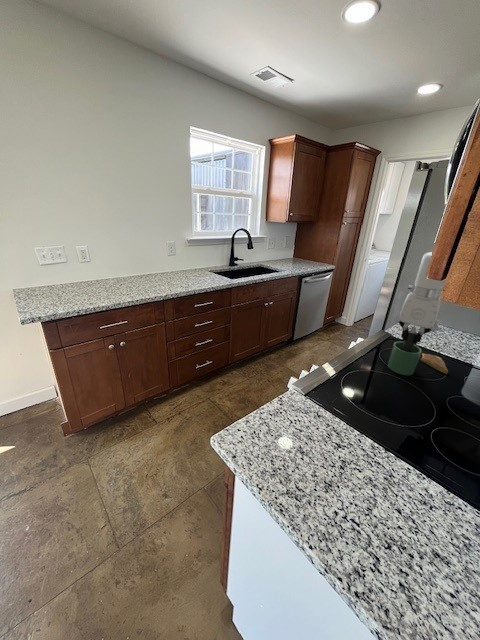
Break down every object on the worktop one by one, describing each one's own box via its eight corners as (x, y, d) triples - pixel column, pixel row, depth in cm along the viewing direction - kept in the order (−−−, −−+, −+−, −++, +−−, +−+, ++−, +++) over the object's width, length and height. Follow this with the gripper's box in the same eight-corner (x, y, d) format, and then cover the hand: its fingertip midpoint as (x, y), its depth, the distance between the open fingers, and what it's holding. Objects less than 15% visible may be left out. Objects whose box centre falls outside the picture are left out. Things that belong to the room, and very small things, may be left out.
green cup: (419, 372, 96) (427, 351, 92) (401, 377, 93) (409, 355, 89) (399, 360, 103) (405, 340, 99) (382, 364, 100) (388, 343, 97)
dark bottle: (412, 356, 95) (421, 328, 90) (405, 357, 94) (415, 329, 89) (404, 352, 97) (413, 325, 93) (398, 353, 96) (407, 326, 92)
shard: (447, 375, 95) (449, 371, 94) (422, 369, 97) (424, 365, 97) (440, 360, 104) (442, 356, 103) (418, 356, 107) (419, 352, 106)
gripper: (395, 288, 88) (381, 337, 95) (456, 300, 78) (436, 353, 86) (400, 284, 93) (387, 331, 101) (458, 294, 84) (438, 345, 91)
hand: (409, 341), depth 93 cm, fingers closed on dark bottle, 3 cm apart
